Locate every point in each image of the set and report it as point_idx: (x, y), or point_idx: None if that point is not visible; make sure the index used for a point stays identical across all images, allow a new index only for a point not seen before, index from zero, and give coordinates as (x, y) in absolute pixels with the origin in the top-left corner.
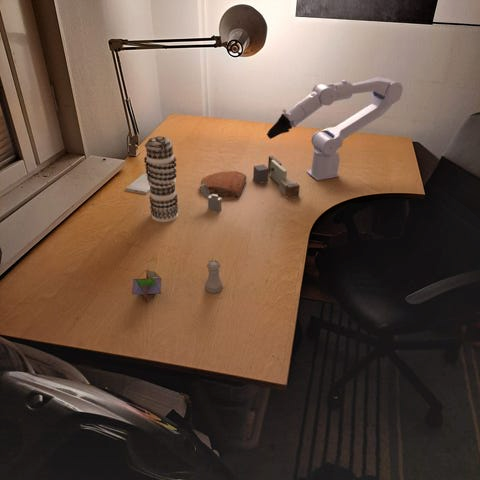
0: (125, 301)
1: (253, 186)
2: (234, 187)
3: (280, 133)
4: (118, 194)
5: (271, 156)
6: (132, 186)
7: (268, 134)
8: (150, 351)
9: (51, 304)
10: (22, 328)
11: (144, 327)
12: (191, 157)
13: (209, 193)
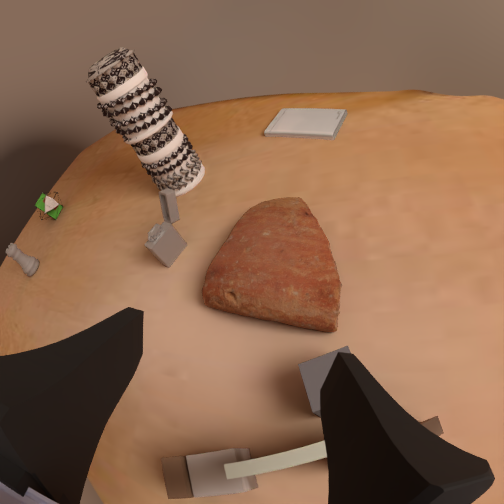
0: (62, 200)
1: (283, 359)
2: (214, 281)
3: (329, 484)
4: (269, 110)
5: (431, 430)
6: (286, 112)
7: (335, 369)
8: (22, 232)
9: (89, 157)
10: (79, 156)
11: (36, 222)
12: (474, 168)
13: (170, 219)
